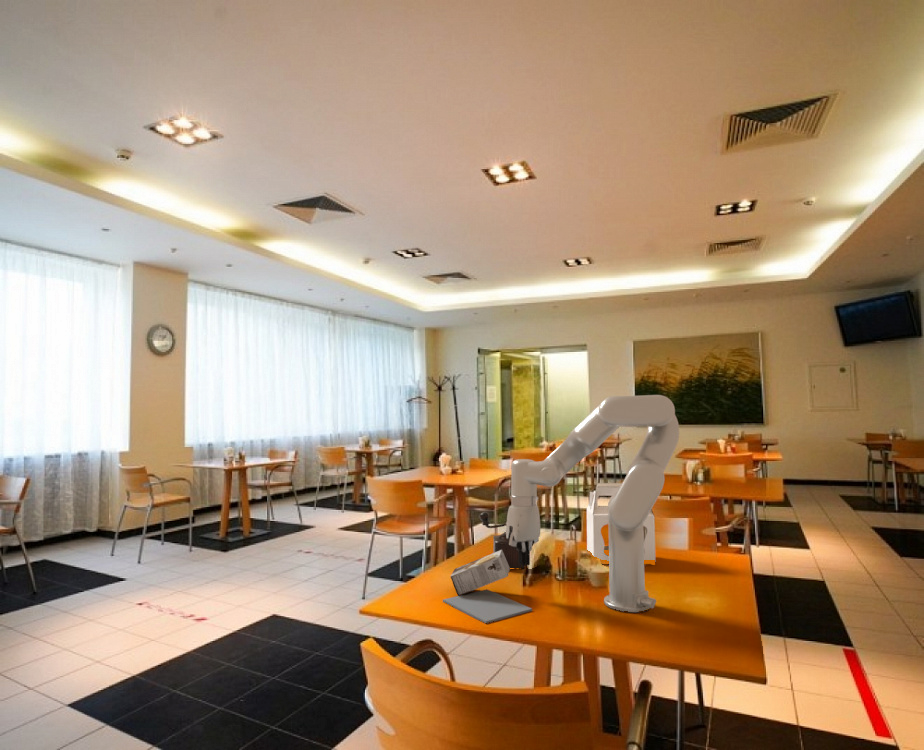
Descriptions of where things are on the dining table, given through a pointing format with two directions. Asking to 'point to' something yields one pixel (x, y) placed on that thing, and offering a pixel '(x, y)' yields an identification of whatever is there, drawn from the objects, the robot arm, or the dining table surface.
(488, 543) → the dining table surface
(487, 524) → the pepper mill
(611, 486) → the gable box
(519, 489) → the robot arm
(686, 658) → the dining table surface
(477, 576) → the coffee box
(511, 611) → the mat
